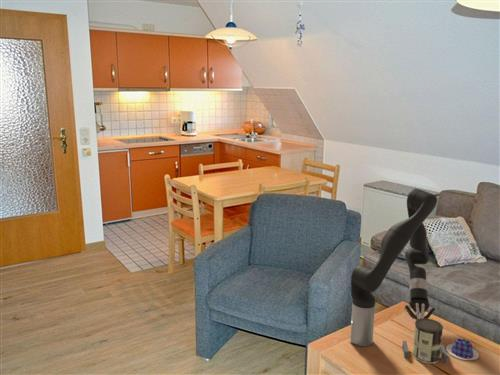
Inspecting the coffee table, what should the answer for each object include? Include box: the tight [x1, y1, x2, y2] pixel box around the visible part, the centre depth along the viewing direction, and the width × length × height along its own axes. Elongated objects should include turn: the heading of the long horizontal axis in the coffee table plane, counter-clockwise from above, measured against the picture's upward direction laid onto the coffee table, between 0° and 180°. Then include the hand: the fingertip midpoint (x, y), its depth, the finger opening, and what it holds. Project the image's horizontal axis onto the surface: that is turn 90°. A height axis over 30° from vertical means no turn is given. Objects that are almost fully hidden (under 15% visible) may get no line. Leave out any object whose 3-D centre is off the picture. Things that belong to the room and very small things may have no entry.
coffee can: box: [412, 318, 444, 365], centre depth 177 cm, size 10×10×14 cm
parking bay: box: [401, 340, 449, 364], centre depth 179 cm, size 16×8×3 cm, turn 78°
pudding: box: [445, 337, 480, 361], centre depth 180 cm, size 12×12×5 cm
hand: (420, 328), depth 190 cm, fingers closed
